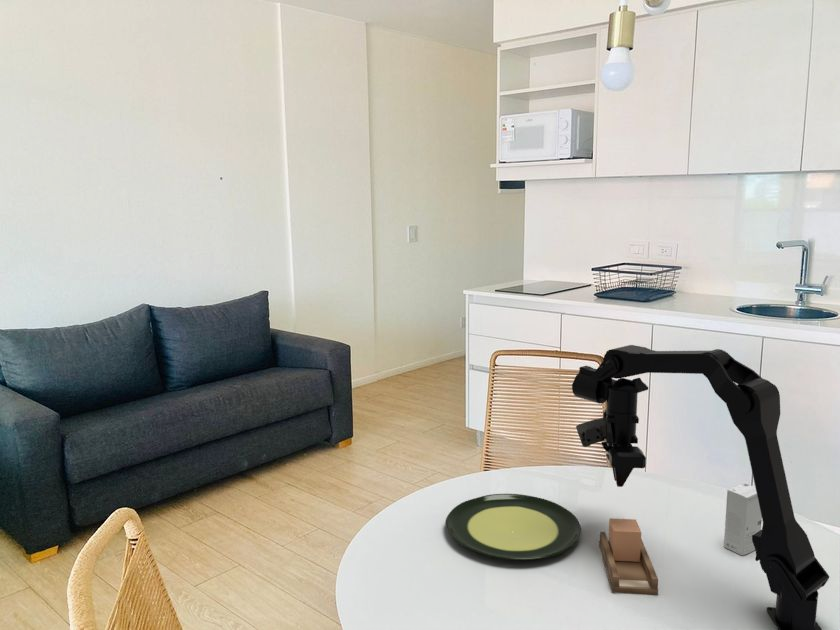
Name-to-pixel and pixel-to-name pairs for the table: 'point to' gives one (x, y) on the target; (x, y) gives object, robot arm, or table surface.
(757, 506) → the skincare box
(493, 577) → the table surface
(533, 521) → the plate
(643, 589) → the chute
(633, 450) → the robot arm
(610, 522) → the block
